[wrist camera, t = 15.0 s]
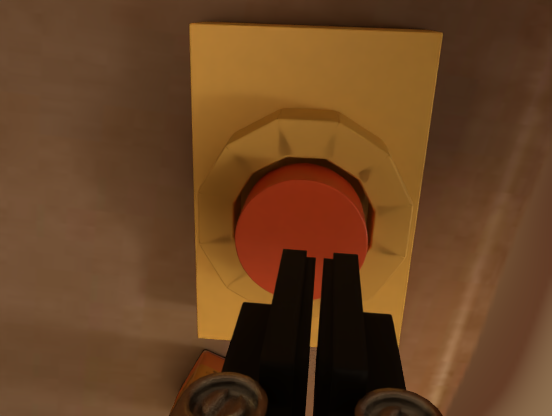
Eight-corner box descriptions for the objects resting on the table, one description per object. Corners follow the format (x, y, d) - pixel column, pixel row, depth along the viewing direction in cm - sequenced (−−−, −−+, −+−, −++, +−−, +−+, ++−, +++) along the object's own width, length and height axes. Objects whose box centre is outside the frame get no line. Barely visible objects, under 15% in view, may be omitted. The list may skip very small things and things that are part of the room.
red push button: (369, 166, 16) (374, 183, 15) (358, 278, 18) (361, 305, 16) (243, 159, 16) (234, 176, 15) (242, 270, 18) (234, 296, 16)
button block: (429, 29, 18) (457, 35, 14) (390, 322, 22) (404, 385, 19) (203, 21, 18) (173, 24, 15) (208, 308, 23) (186, 367, 19)
